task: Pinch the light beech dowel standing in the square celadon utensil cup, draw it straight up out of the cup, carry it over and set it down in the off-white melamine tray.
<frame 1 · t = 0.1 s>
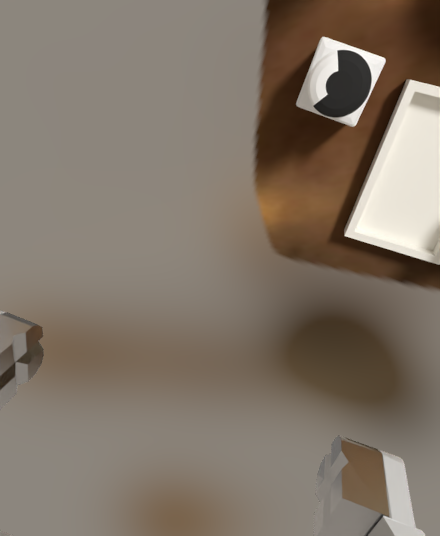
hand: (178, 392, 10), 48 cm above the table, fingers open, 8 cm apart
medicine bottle: (338, 81, 48), on the table
melamine tray: (422, 175, 50), on the table
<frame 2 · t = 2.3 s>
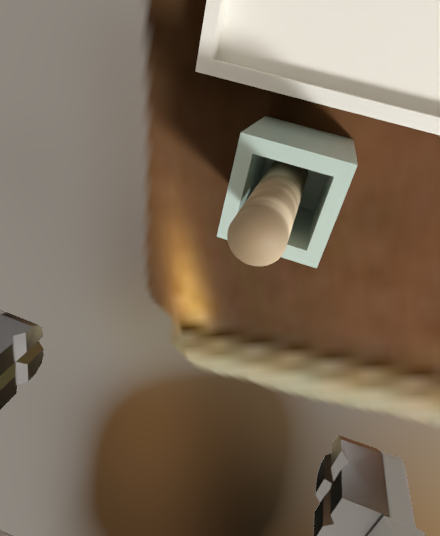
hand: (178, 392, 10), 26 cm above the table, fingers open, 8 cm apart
beech dowel: (289, 172, 31), point 1 cm above the table, touching celadon cup
melamine tray: (364, 0, 26), on the table
celadon cup: (295, 170, 32), on the table
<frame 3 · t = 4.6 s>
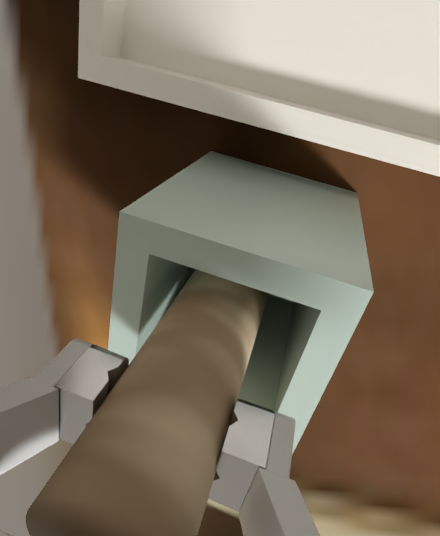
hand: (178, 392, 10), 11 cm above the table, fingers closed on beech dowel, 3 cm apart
beech dowel: (251, 243, 19), point 1 cm above the table, touching celadon cup, gripper
celadon cup: (262, 237, 20), on the table
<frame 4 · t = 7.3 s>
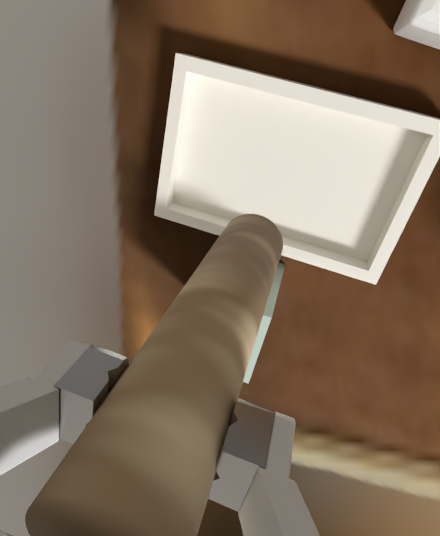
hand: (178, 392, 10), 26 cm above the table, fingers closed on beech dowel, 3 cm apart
beech dowel: (252, 243, 19), point 16 cm above the table, touching gripper
melamine tray: (285, 169, 32), on the table
celadon cup: (240, 283, 38), on the table
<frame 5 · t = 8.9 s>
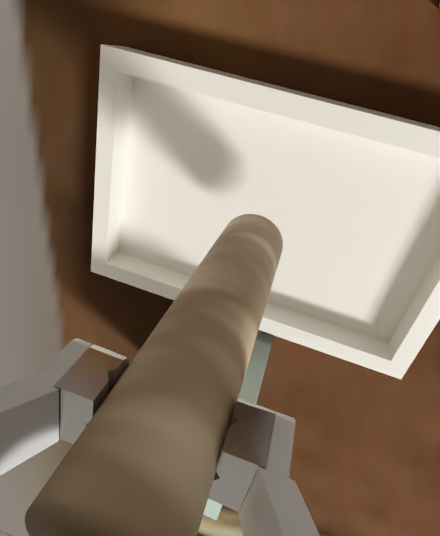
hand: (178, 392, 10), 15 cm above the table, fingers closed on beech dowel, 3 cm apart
beech dowel: (251, 243, 19), point 4 cm above the table, touching gripper
melamine tray: (272, 212, 22), on the table
celadon cup: (215, 355, 29), on the table
when the fingers open (12 cm above the table, at t = 10.1 s): beech dowel stays where it is, resting on melamine tray.
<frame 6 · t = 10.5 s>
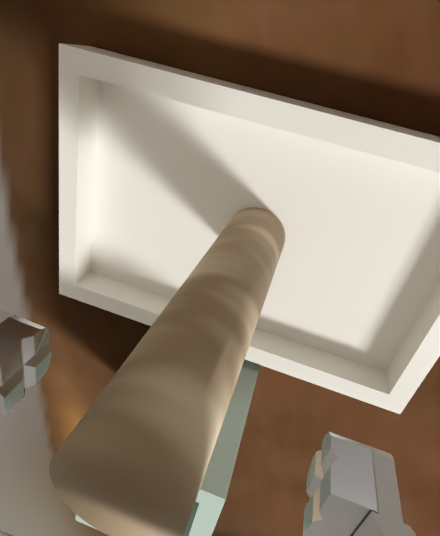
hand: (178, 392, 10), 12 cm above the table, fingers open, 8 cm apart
beech dowel: (255, 235, 20), point 1 cm above the table, touching melamine tray
melamine tray: (257, 229, 20), on the table
celadon cup: (198, 381, 26), on the table
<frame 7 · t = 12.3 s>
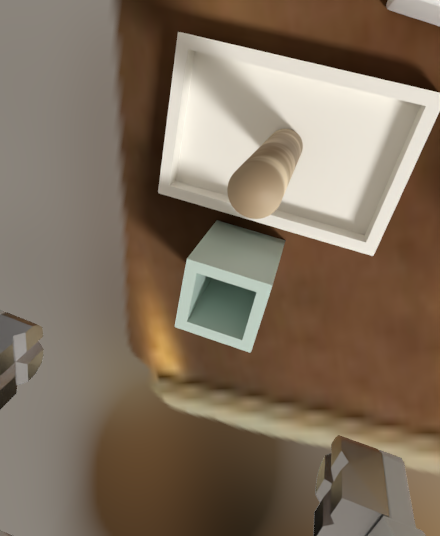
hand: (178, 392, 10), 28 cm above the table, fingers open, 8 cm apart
beech dowel: (284, 147, 33), point 1 cm above the table, touching melamine tray
melamine tray: (285, 145, 33), on the table
celadon cup: (242, 260, 39), on the table
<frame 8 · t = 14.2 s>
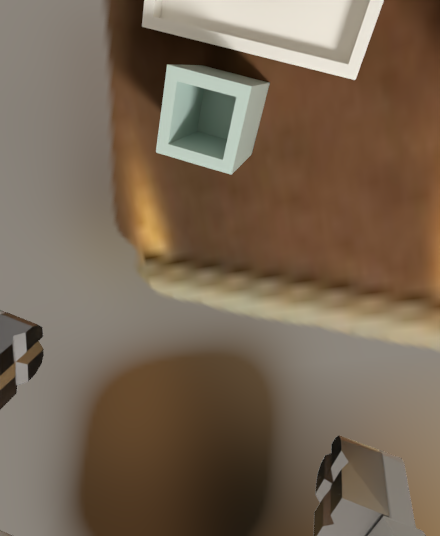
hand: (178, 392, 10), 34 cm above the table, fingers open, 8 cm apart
celadon cup: (227, 111, 39), on the table
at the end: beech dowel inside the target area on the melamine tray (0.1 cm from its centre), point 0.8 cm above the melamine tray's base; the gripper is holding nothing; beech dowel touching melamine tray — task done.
